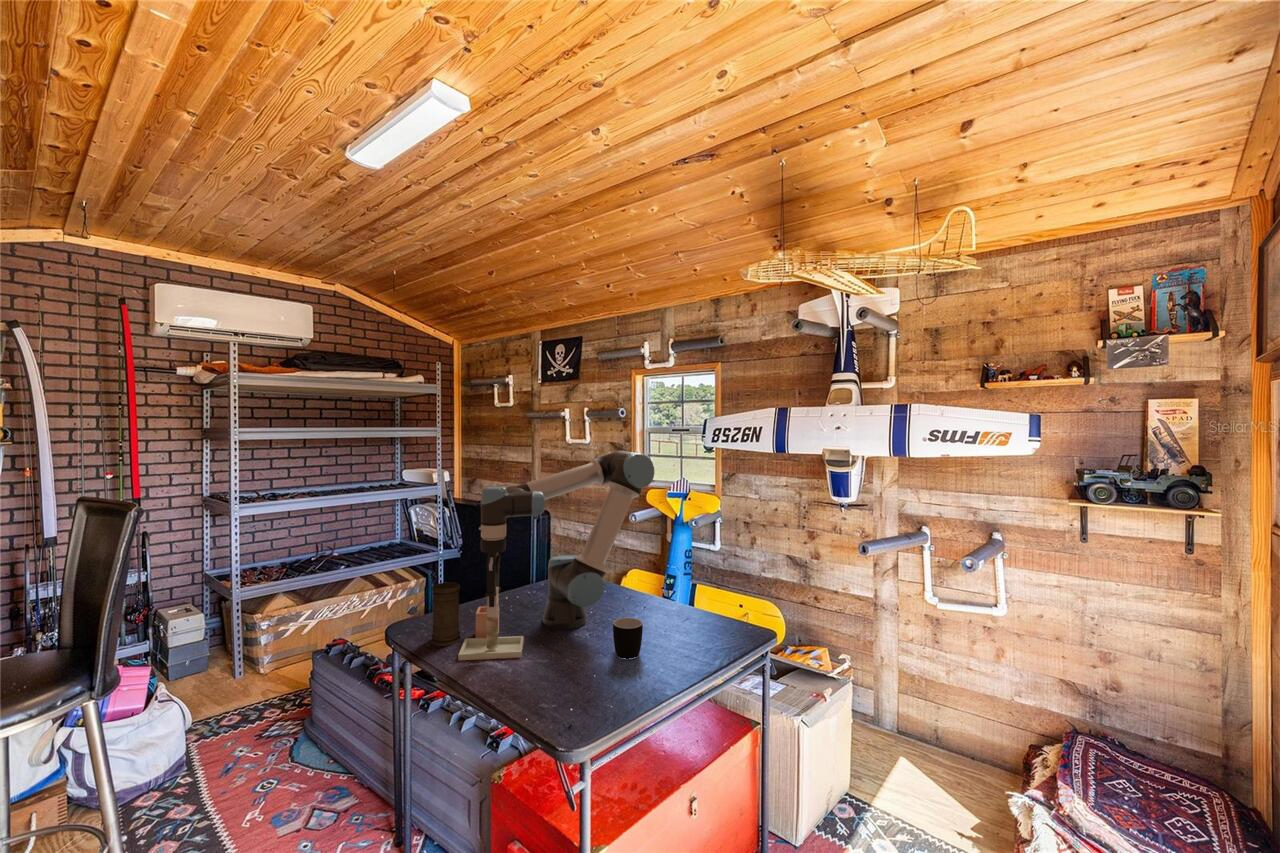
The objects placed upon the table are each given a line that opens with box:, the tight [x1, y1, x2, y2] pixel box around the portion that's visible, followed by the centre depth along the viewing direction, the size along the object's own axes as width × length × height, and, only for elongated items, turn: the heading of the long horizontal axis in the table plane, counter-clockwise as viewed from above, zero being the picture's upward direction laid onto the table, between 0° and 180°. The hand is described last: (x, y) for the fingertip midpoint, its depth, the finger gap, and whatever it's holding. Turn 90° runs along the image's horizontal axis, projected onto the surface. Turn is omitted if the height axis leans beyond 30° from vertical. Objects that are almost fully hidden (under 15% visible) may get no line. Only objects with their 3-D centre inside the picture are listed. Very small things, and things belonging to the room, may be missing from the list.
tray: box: [457, 635, 525, 661], centre depth 169 cm, size 18×12×2 cm, turn 98°
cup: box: [475, 605, 500, 638], centre depth 181 cm, size 7×7×9 cm
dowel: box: [486, 586, 499, 649], centre depth 169 cm, size 3×3×18 cm
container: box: [430, 581, 462, 647], centre depth 177 cm, size 9×9×18 cm
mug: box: [612, 617, 644, 659], centre depth 169 cm, size 12×9×10 cm
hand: (492, 614), depth 169 cm, fingers closed on dowel, 3 cm apart
